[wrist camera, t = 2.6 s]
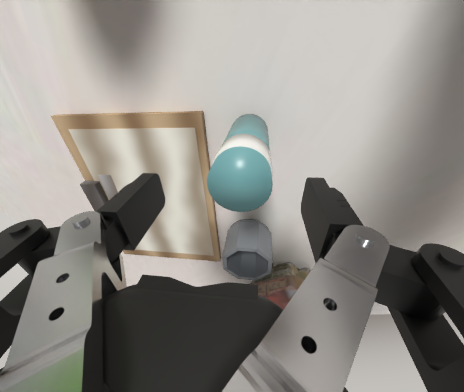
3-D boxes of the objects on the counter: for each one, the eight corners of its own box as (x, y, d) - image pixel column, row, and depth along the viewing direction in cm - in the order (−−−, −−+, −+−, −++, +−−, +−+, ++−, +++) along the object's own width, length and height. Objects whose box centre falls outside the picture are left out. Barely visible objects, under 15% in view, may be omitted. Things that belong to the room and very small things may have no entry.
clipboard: (203, 111, 21) (198, 114, 19) (220, 257, 34) (218, 266, 32) (57, 114, 23) (42, 118, 21) (127, 250, 36) (120, 258, 35)
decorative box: (277, 312, 42) (280, 370, 34) (228, 256, 34) (217, 316, 26) (341, 302, 37) (362, 368, 29) (302, 234, 29) (317, 299, 21)
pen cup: (271, 220, 28) (273, 250, 23) (269, 250, 31) (270, 281, 27) (227, 218, 29) (221, 246, 24) (230, 247, 32) (224, 277, 28)
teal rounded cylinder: (269, 109, 20) (276, 154, 10) (267, 147, 22) (270, 213, 12) (231, 110, 20) (201, 153, 10) (233, 147, 22) (209, 210, 12)
